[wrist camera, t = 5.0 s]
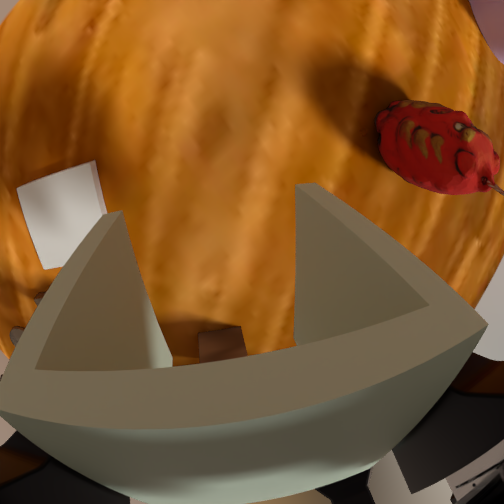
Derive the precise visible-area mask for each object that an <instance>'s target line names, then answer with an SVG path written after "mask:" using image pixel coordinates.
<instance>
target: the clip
mask: <svg viewBox="0 0 504 504" xmlns="http://www.w3.org/2000/svg"><path fill="white" fill-rule="evenodd" d="M469 2H470V5H471V8H472V11H473V14H474V16H475V19H476V21H477V24H478V26H479V28H480V30H481V32H482V34H483V36H484V38H485V40H486V42H487V44H488V45H489V47H490V49H491V50H492V52H493V53H494V55H495V56H496V57H497V58H498V60H499V61H500V62H502V63H503V64H504V0H469Z"/></svg>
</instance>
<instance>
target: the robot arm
mask: <svg viewBox="0 0 504 504" xmlns="http://www.w3.org/2000/svg"><path fill="white" fill-rule="evenodd" d="M392 451H393V453H394V455H395V458H396V460H397V462H398V465H399V467H400V469H401V471H402V474H403V476H404V478H405V481H406V483H407V485H408V488H409V490H410V492H411V494H413V493H416V492H418V491H420V490H422V489H424V488H426V487H429V486H431V485H433V484H435V483H437V482H438V481H440V480H442V479H444V478H446V480H447V482H448V484H449V486H450V488H451V490H452V492H453V494H452V496H451V499H450V500H451V502H452V504H504V361H494V360H490V359H488V358H485V357H483V356H480V355H478V354H476V353H473V352H472V353H471V355H470V357H469V358H468V360H467V361H466V363H465V364H464V366H463V367H462V369H461V370H460V372H459V373H458V374H457V376H456V377H455V379H454V380H453V381H452V383H451V384H450V385H449V387H448V388H447V389H446V391H445V392H444V393H443V394H442V396H441V397H440V398H439V399H438V401H437V402H436V403H435V404H434V405H433V407H432V408H431V409H430V410H429V411H428V412H427V414H426V415H425V416H424V417H423V418H422V419H421V420H420V421H419V423H418V424H417V425H416V426H415V427H414V428H413V429H412V430H411V431H410V432H409V433H408V434H407V435H406V436H405V437H404V438H403V439H402V440H401V441H400V442H399V443H398V444H397V445H396V446H395V447H394V448H393V449H392ZM372 469H373V466H372V467H371V468H370V469H367V470H365V471H363V472H360V473H358V474H355V475H353V476H350V477H348V478H345V479H342V480H339V481H337V482H334V483H331V484H328V485H325V486H322V487H318V488H315V490H317V491H318V492H320V493H321V494H323V495H324V496H326V497H327V498H329V499H330V500H331V502H332V504H375V502H374V500H373V497H372V495H371V493H370V490H369V488H368V486H369V482H370V478H371V473H372ZM0 504H130V497H129V496H126V495H124V494H122V493H119V492H117V491H115V490H112V489H110V488H108V487H106V486H104V485H102V484H100V483H98V482H96V481H94V480H92V479H90V478H88V477H86V476H84V475H82V474H81V473H79V472H77V471H75V470H73V469H72V468H70V467H68V466H67V465H65V464H63V463H62V462H60V461H59V460H57V459H55V458H54V457H52V456H51V455H49V454H48V453H46V452H45V451H44V450H42V449H41V448H39V447H38V446H37V445H35V444H34V443H32V442H31V441H30V440H28V439H27V438H26V437H25V436H23V435H22V434H21V433H20V432H18V431H16V432H15V433H14V434H13V435H12V436H11V437H10V438H9V439H8V440H7V441H6V442H5V443H4V444H3V445H2V446H0Z"/></svg>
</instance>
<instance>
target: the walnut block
mask: <svg viewBox="0 0 504 504" xmlns="http://www.w3.org/2000/svg"><path fill="white" fill-rule="evenodd" d="M198 342H199V358H200V364H201V363H208V362H215V361H222V360H228V359H234V358H240V357H246V356H247V351H246V347H245V343H244V338H243V334H242V330H241V326H240V327H234V328H228V329H221V330H215V331H208V332H201V333H198Z"/></svg>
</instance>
